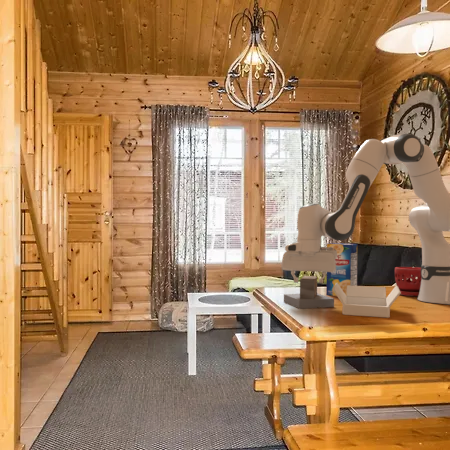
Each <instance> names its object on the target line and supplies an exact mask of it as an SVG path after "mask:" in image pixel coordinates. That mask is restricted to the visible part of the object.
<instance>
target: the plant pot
mask: <svg viewBox="0 0 450 450" xmlns="http://www.w3.org/2000/svg"><path fill="white" fill-rule="evenodd" d="M421 278H422V277H421V267H417V266H416V267H413V266H396V267H394V281H395V284H396V285H397V286H398V288H399V290H400V292H401V294H400V295H401V296H407V297H417V298H418V295H419V291H420V286H421ZM400 295H399V296H400Z"/></svg>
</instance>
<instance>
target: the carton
mask: <svg viewBox="0 0 450 450" xmlns="http://www.w3.org/2000/svg"><path fill="white" fill-rule="evenodd" d="M333 291H334V292H335V294H336V295H337V296H336V297H337V298H338V300H339V301H340V303H341V304H342V315H344V316H345V315H346V316H358V317H361V316H362V317H373V318H374V317H375V318H390V317H391V315H390V314H391V313H390V312H391V306H392V305H393V304H394V303H395V302H396V300H397V299H398V297H399V296H400V294H401V292H400V290H399V288H398V286H397V284H396V285H395V286H394V287H393V289H392V290H391V291H390V293H389V294H388V295H387V287H386V286H385V287H384V286H370V285H369V286H367V285H366V286H365V285H357V286H349V285H347V296H346V295H345V293H344V292H343V290H342V289H341V287H340V286H339V284H338V283H336V284H335V286H334V288H333Z"/></svg>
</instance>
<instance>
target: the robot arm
mask: <svg viewBox="0 0 450 450" xmlns="http://www.w3.org/2000/svg"><path fill="white" fill-rule="evenodd" d="M399 164H404V165H405V166H406V169H407V172H408V177H409V180H410V183H411V186H412V188H413V193H414V194H415V196H416V197H418V198H419V199H421V201H423V202H424V203H425V204H424V203H423V204H420V205H417V206H414V207H413V208H411V210H410V212H409V213H408V214H409V215H408V220H409V224H410V225H411V227H412V228H413V229H415V231H416V233H417V235H418V238H419V241H420V244H421V261H422V262H421V266H420V268H421V277H422V278H421V286H420V291H419V295H418V296H417V299H416V300H418V301H421V302H424V303H432V304H443V305H450V243H449V242H448V241H447V240H446V239H445V236H444V233H443V232H450V192H449V191H448V189H447V187H446V185H445V182H444V181H443V177H442V174H441V171H440V169H439V165H438V162H437V159H436V157H435V155H434V153H433V151H432V149H431V147H430V146H428V145H427V144H424V143H422V140H421V139H420V138H419V137H418V136H416V135H415V134H412V133H403V134H402V133H401V134H393V135H392V136H388V137H384V138H382V139H380V140H379V139H376V138H369V139H366V140H365V141H364V142H363V143H362V144H361V145H360V147H359V148H358V150H357V151H356V153H354V155H353V157H352V159H351V160H350V162H349V165H348V166H347V169H346V171H345V180H346V181H347V184H348V191H347V193H346V195H345V197H344V199H343V201H342V203H341V205H340V207H339V208H338V210H336V211H335V212H332V211H330V210H327V209H325V208H324V207H322V205H320V204H318V203H310V204H305V205H302V206H300V207H299V209H298V213H297V223H296V225H297V231H298V233H297V238H296V242H292V243H289V244H287V245H285V248H284V250H285V251H284V253H283V255H282V259H281V261H282V262H281V269H282V270H283V271H290V274H291V276H292V278H293V283H295V284H296V283H297V284H299V277H297V276H296V275H295V274H296V272H316V273H317V272H321V274H322V275H323V276H322V278H319V279H318V284H319V285H324V280H325V278H326V277H327V272H334V271H335V270H336V261H335V259H336V257H337V251H336V250H335V249H334V248H333V247H327V246H322V244H321V243H322V237H325V238H329V239H333V240H334V241H335V240H336V241H344V240H347V239H349V238H350V237H351V236H352V234H353V233H354V230H355V225H356V220H357V215H358V213H359V211H360V209H361V207H362V204H363V202H364V200H365V199H366V196H367V193H368V192H369V189H370V187H371V186H372V184H373V182H374V180H375V179H376V177H377V176H378V174H379V172H380V170H381V168H382V166H383V165H399Z"/></svg>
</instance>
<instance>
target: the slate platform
mask: <svg viewBox="0 0 450 450" xmlns="http://www.w3.org/2000/svg"><path fill="white" fill-rule="evenodd" d="M283 303H285V304H287V303H288V304H287V305H290V306H292V305H293V306H292V307H294V306H295V308H297V309H299V308H300V309H316V308H317V307H321V308H334V307H335V298H333V297H330V296H328V295H324V294H320V293H318V292H317V295H316V297H315V298H314V299H300V293H287V294H286V293H284V294H283Z"/></svg>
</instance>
